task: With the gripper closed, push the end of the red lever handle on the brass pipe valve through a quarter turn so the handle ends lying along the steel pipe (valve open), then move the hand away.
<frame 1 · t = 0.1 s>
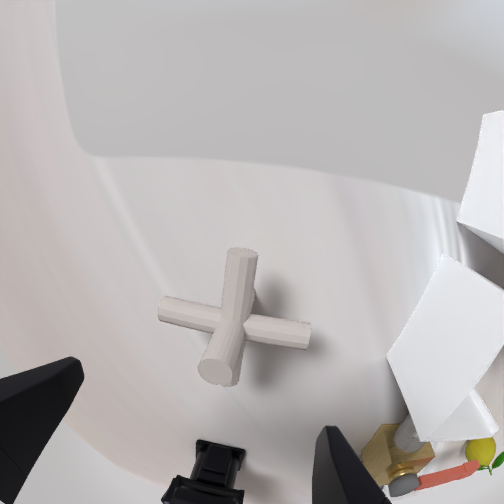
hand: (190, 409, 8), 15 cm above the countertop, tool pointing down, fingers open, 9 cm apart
lemon: (474, 433, 25), on the countertop
valve body: (391, 438, 26), on the countertop
storage container: (482, 257, 19), on the countertop
pipe connector: (244, 292, 23), on the countertop
lever: (438, 478, 18), point 8 cm above the countertop, hinge at 0.0°
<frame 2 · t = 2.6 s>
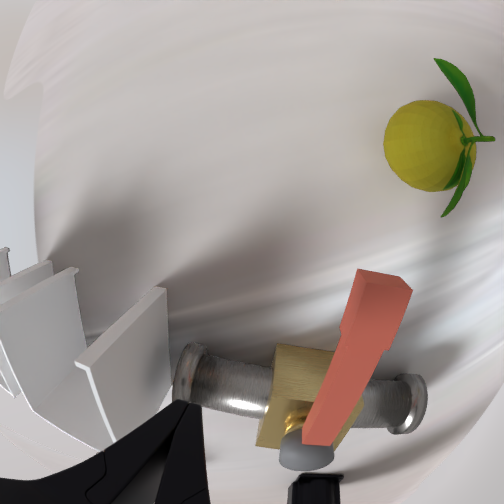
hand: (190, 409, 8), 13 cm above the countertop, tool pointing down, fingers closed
lemon: (402, 148, 16), on the countertop
valve body: (305, 376, 22), on the countertop
storage container: (70, 309, 25), on the countertop
lever: (335, 401, 13), point 8 cm above the countertop, hinge at 0.0°
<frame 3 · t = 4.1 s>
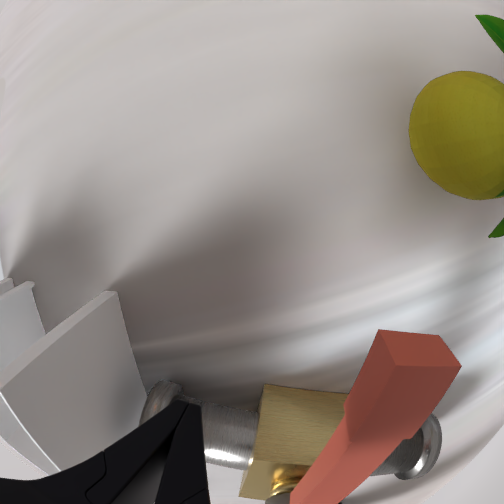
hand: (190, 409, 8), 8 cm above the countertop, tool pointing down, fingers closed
lemon: (427, 138, 12), on the countertop
valve body: (299, 418, 17), on the countertop
storage container: (38, 330, 20), on the countertop
lever: (331, 478, 8), point 8 cm above the countertop, hinge at 0.0°
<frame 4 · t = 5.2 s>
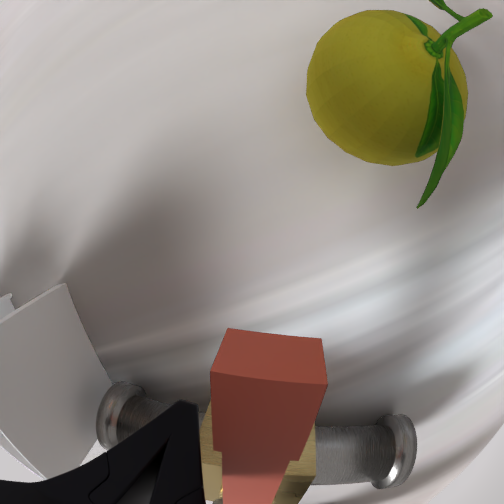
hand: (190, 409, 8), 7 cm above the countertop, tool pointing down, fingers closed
lemon: (355, 109, 11), on the countertop
valve body: (260, 421, 17), on the countertop
storage container: (24, 340, 20), on the countertop
lever: (249, 488, 8), point 8 cm above the countertop, hinge at 0.2°, touching gripper
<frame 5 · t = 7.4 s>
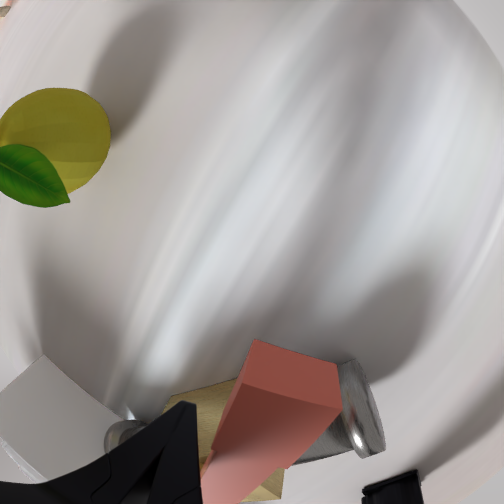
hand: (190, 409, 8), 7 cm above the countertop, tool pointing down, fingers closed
lemon: (98, 143, 14), on the countertop
valve body: (229, 415, 17), on the countertop
storage container: (78, 428, 25), on the countertop
lever: (221, 483, 8), point 8 cm above the countertop, hinge at 48.5°, touching gripper
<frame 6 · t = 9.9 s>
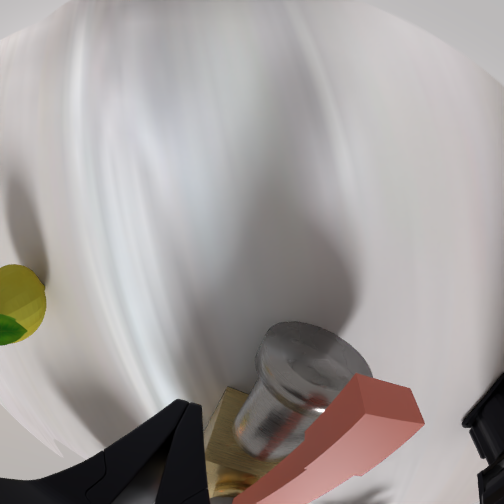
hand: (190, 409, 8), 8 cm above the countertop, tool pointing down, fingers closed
lemon: (43, 285, 18), on the countertop
valve body: (254, 425, 18), on the countertop
lever: (276, 494, 8), point 8 cm above the countertop, hinge at 91.3°
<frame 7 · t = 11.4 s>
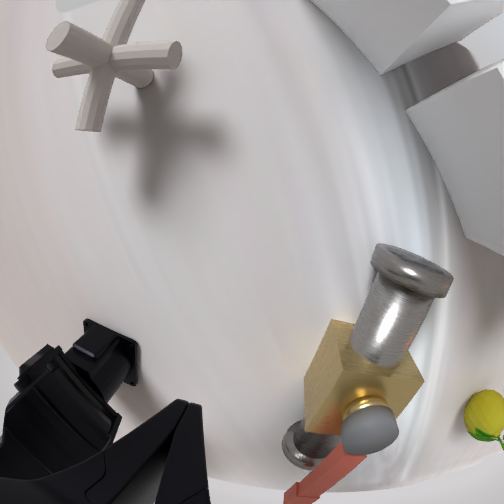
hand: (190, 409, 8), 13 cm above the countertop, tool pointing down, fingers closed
lemon: (474, 392, 21), on the countertop
valve body: (351, 358, 21), on the countertop
storage container: (436, 70, 14), on the countertop
pipe connector: (144, 78, 17), on the countertop
lever: (331, 470, 15), point 8 cm above the countertop, hinge at 91.3°
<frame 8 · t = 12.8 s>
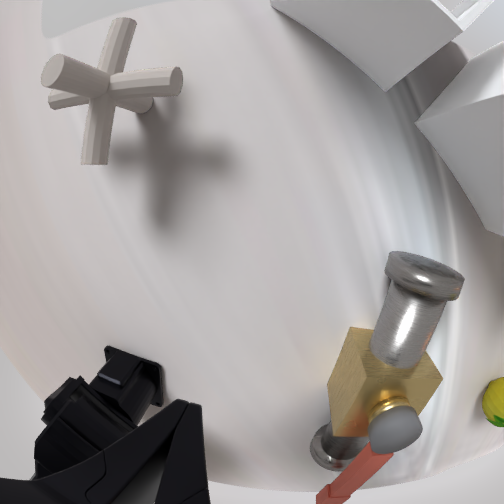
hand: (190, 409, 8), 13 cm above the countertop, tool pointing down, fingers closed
lemon: (490, 380, 21), on the countertop
valve body: (371, 361, 21), on the countertop
storage container: (432, 72, 14), on the countertop
pipe connector: (144, 103, 18), on the countertop
lever: (360, 470, 15), point 8 cm above the countertop, hinge at 91.3°
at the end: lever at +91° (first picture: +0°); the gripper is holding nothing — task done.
